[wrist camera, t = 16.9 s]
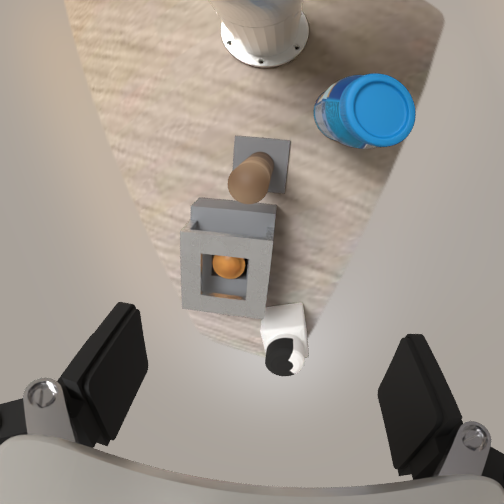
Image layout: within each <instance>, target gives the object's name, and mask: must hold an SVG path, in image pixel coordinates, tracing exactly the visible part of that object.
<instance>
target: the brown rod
mask: <svg viewBox="0 0 504 504" xmlns="http://www.w3.org/2000/svg"><path fill="white" fill-rule="evenodd" d="M273 168H274V162H273V159H272V158H271V156H270V155H268V154H267V153H265V152H255V153H253V154H252V155H250V156H249V157H248V158H247V159H246V160H245V161H243V162H242V163H241V164H240V165H239V166H238V167H236V168H235V169H234V170H233V171H232V172H231V174H230V176H229V179H228V189H229V192H230V194H231V195H232V197H233V198H234V199H235V200H237V201H238V202H240V203H243V204H254V203H257V202H259V201H260V200H262V199H263V198H264V197H265V195H266V193H267V191H268V188H269V184H270V180H271V176H272V172H273Z"/></svg>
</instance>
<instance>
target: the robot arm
mask: <svg viewBox="0 0 504 504" xmlns="http://www.w3.org/2000/svg"><path fill="white" fill-rule="evenodd" d="M208 1H209V2H210V4H211V5H212V7H213V8H214V10H215V11H216V13H217V14H218V16H219V17H220V19H221V21H222V24H221V36H222V40H223V43H224V45H225V47H226V48H227V50H228V51H229V52H230V53H231V54H232V55H233V56H234V57H235V58H236V59H238V60H239V61H241V62H243V63H245V64H247V65H251V66H254V67H262V68H267V67H275V66H280V65H283V64H285V63H288V62H289V61H291V60H292V59H294V58H295V57H296V56H297V55H298V54H300V52H301V51H302V50H303V48H304V47H305V44H306V42H307V39H308V34H309V27H308V21H307V19H306V16H305V14H304V13H303V11H302V4H303V0H208ZM230 43H232V45H231V46H230V45H229V44H230ZM295 47H297V48H298V50H296V49H295ZM261 61H263V62H264V63H263V64H261V63H260V62H261ZM147 370H148V360H147V354H146V348H145V342H144V336H143V330H142V323H141V316H140V311H139V310H138V309H136V307H135V305H133V304H128V303H123V302H118V303H117V304H116V306H115V307H114V308H113V310H112V311H111V312H110V313H109V315H108V316H107V317H106V318H105V320H104V321H103V322H102V323H101V325H100V326H99V327H98V329H97V330H96V331H95V333H93V334H92V335H91V336H90V337H89V339H88V340H87V341H86V343H85V344H84V345H83V347H82V348H81V349H80V351H79V352H78V353H77V355H76V356H75V357H74V359H73V360H72V361H71V363H70V364H69V365H68V367H67V368H66V370H65V371H64V372H63V374H62V375H61V377H60V378H59V379H58V381H55V380H53V379H50V378H40V379H37V380H34V381H33V382H31V383H30V384H29V385H28V386H27V387H26V389H25V391H24V395H23V398H22V399H19V400H15V401H11V402H7V403H3V404H0V504H504V454H503V453H501V452H499V451H498V450H496V449H494V448H492V447H490V446H491V436H490V433H489V432H488V430H487V429H486V428H485V427H484V426H483V425H482V424H480V423H478V422H474V421H469V422H465V423H464V424H463V422H462V420H461V419H462V415H461V413H460V411H459V408H458V406H457V404H456V401H455V399H454V397H453V395H452V393H451V390H450V388H449V386H448V384H447V382H446V380H445V378H444V375H443V373H442V371H441V369H440V367H439V365H438V363H437V361H436V359H435V357H434V355H433V353H432V351H431V349H430V347H429V345H428V343H427V341H426V340H425V337H424V336H423V335H422V334H407V336H406V337H405V338H402V339H401V341H400V344H399V346H398V348H397V350H396V353H395V355H394V357H393V359H392V361H391V364H390V366H389V368H388V370H387V372H386V374H385V376H384V378H383V380H382V382H381V384H380V387H379V389H378V399H379V403H380V407H381V411H382V415H383V420H384V424H385V428H386V433H387V437H388V442H389V446H390V451H391V456H392V461H393V466H394V468H395V469H398V473H399V476H403V475H409V474H412V477H413V480H410V481H404V482H395V483H387V484H378V485H367V486H354V487H333V488H332V487H331V488H298V487H275V486H262V485H252V484H242V483H234V482H227V481H219V480H213V479H208V478H202V477H196V476H191V475H186V474H182V473H177V472H172V471H168V470H164V469H160V468H156V467H152V466H148V465H145V464H141V463H138V462H134V461H131V460H128V459H124V458H120V457H117V456H115V455H111V454H108V453H105V452H103V451H100V450H97V449H94V448H93V447H94V446H95V444H96V442H97V443H99V444H102V445H105V446H108V444H109V442H110V440H114V439H115V438H116V436H117V434H118V432H119V430H120V428H121V425H122V423H123V421H124V419H125V417H126V415H127V412H128V411H129V408H130V406H131V404H132V402H133V400H134V398H135V396H136V394H137V392H138V389H139V387H140V385H141V383H142V381H143V379H144V377H145V375H146V373H147Z"/></svg>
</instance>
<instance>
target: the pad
mask: <svg viewBox="0 0 504 504" xmlns="http://www.w3.org/2000/svg"><path fill="white" fill-rule="evenodd" d="M289 146H290V141H289V140H279V139H269V138H258V137H246V136H235V143H234V157H233V170H234V169H235V168H236V167H238V166H239V165H240V164H241V163H242V162H243V161H245V160H246V159H247V158H248V157H249V156H250V155H252V154H253V153H255V152H265V153H267V154H268V155H270V156H271V158H272V159H273V162H274V168H273V172H272V176H271V180H270V184H269V188H268V191H267V192H275V193H285V184H286V175H287V166H288V156H289Z"/></svg>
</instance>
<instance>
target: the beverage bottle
mask: <svg viewBox="0 0 504 504" xmlns="http://www.w3.org/2000/svg"><path fill="white" fill-rule="evenodd" d="M314 119H315V122H316V125H317V127H318V128H319V130H320V131H321V132H322V133H323V134H324V135H325V136H327V137H328V138H330V139H333V140H335V141H338V142H340V143H341V144H343V145H346V146H349V147H353V148H359V149H371V148H375V147H387V146H393V145H396V144H398V143H400V142H401V141H403V140H404V139H405V138H406V137H407V136H408V135H409V133H410V132H411V130H412V128H413V126H414V122H415V106H414V102H413V99H412V97H411V95H410V93H409V92H408V90H407V89H406V88H405V87H404V85H402V84H401V83H400V82H399V81H398V80H396V79H394V78H392V77H390V76H388V75H384V74H379V73H378V74H376V73H374V74H373V73H372V74H368V75H367V74H366V75H353V76H348V77H346V78H343V79H341V80H339V81H337V82H335V83H334V84H332V85H331V86H330V87H329V88H328V89H327V90H326V91H325V92H323V93H322V94H321V95H320V96H319V98H318V99H317V101H316V103H315V106H314Z"/></svg>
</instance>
